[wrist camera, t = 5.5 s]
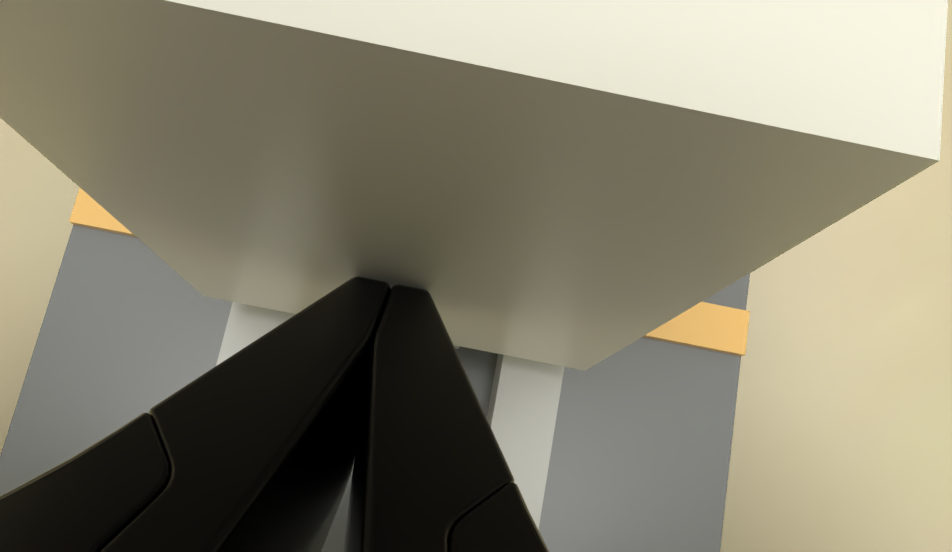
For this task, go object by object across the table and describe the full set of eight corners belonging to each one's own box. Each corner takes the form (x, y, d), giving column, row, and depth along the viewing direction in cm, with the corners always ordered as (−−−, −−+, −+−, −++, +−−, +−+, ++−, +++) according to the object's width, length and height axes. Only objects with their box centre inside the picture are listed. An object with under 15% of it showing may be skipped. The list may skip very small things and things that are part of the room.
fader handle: (558, 385, 14) (939, 160, 4) (234, 323, 14) (-225, -81, 4) (585, 222, 15) (963, -322, 5) (277, 159, 15) (-16, -546, 5)
